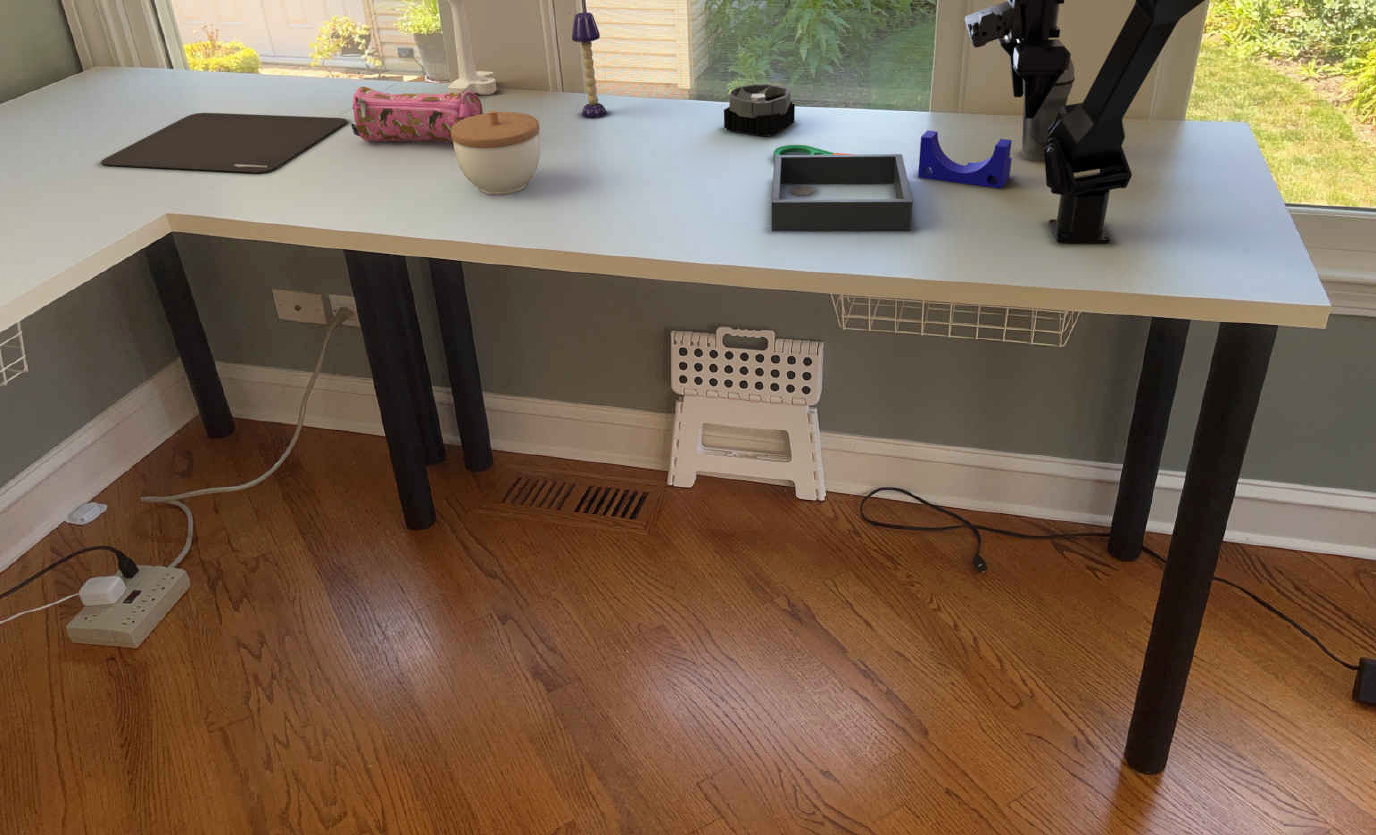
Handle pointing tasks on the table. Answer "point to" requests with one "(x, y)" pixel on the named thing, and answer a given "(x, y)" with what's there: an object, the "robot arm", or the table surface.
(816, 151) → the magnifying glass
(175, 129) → the mouse pad
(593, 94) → the toy lamp
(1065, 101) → the beverage cup
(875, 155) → the dark grey square tray
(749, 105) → the cpu cooler
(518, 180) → the lidded bowl
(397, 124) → the pencil case
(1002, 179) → the blue u-shaped bracket
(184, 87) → the table surface
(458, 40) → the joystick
